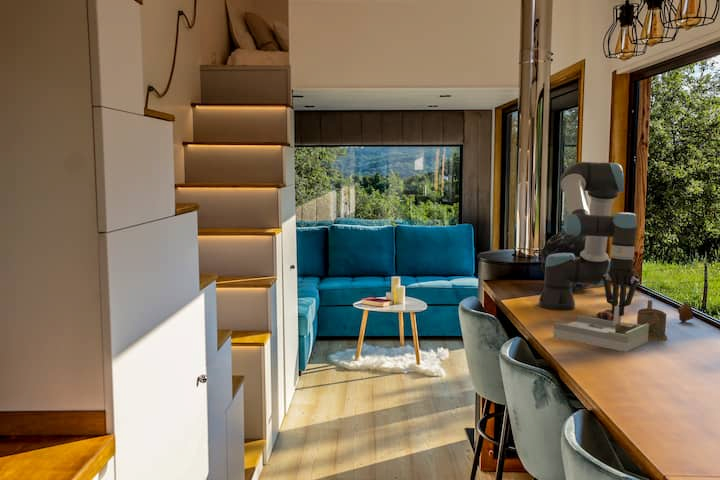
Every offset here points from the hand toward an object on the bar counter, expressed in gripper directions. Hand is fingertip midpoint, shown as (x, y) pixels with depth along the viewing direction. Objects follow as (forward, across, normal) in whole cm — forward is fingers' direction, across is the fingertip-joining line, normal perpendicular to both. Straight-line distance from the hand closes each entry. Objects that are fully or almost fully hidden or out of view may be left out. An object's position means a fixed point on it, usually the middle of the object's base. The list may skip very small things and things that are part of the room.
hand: (616, 324), depth 243 cm
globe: (+8, -57, +87) cm, 104 cm away
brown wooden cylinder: (+7, +4, +21) cm, 23 cm away
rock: (+7, +8, +55) cm, 56 cm away
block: (+3, +3, 0) cm, 5 cm away
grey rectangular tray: (+6, -5, 0) cm, 8 cm away
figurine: (+7, -17, +32) cm, 37 cm away
